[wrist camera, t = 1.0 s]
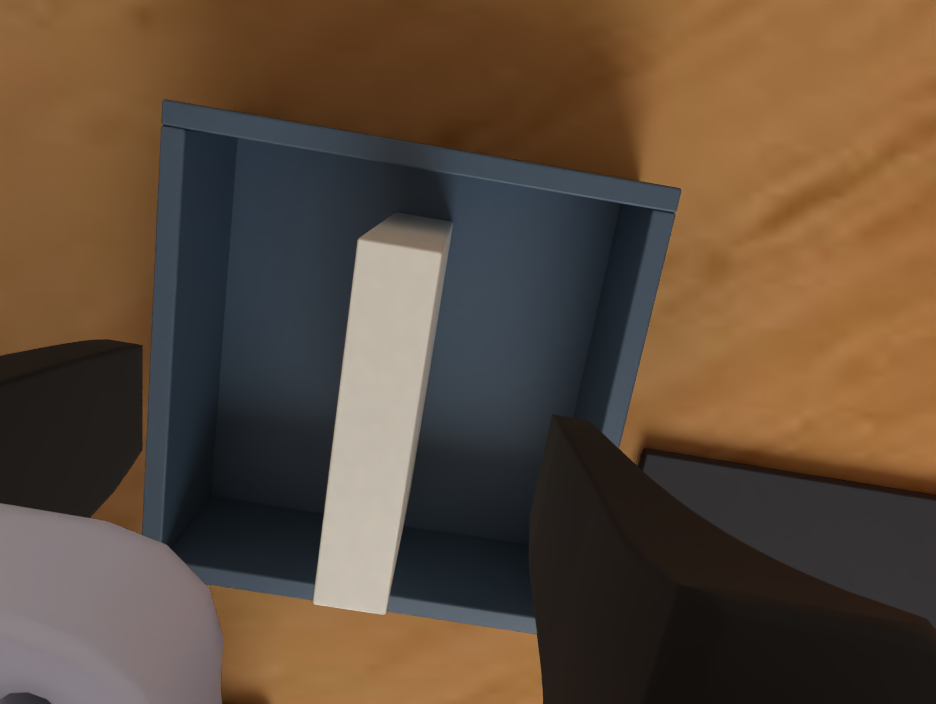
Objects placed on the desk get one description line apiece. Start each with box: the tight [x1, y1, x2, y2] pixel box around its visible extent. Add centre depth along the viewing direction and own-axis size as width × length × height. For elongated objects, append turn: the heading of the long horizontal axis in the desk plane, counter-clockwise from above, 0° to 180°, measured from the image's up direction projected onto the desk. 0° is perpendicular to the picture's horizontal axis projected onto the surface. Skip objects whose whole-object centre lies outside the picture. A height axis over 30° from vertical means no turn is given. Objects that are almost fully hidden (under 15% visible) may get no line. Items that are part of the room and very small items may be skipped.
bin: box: [142, 99, 681, 634], centre depth 21 cm, size 13×13×5 cm
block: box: [313, 212, 453, 615], centre depth 19 cm, size 9×2×7 cm, turn 171°
